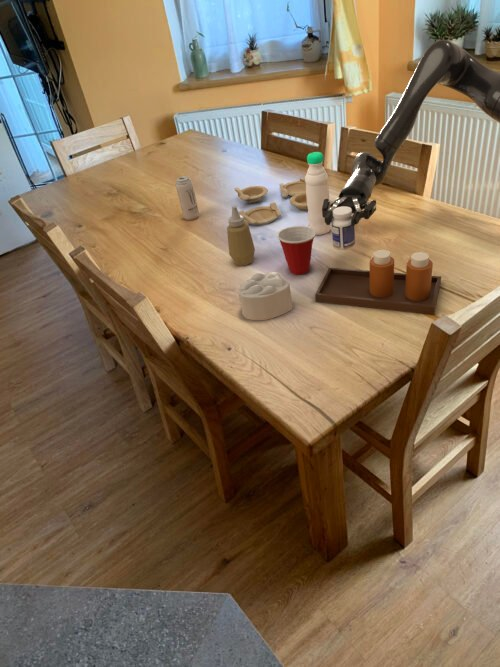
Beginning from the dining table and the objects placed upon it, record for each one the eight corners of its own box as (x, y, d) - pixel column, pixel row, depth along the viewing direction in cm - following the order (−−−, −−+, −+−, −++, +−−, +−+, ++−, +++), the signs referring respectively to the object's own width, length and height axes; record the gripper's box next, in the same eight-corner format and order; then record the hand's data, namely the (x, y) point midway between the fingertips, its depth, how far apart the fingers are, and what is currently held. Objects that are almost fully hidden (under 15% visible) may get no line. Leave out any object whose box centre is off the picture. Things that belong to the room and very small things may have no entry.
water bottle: (314, 224, 165) (308, 149, 150) (334, 226, 162) (330, 150, 147) (305, 234, 161) (298, 158, 146) (326, 236, 158) (321, 158, 142)
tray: (440, 283, 129) (441, 276, 127) (433, 314, 119) (434, 307, 118) (329, 274, 140) (329, 267, 139) (315, 301, 131) (315, 294, 129)
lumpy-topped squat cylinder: (296, 309, 129) (293, 281, 124) (250, 326, 127) (245, 298, 121) (279, 291, 137) (276, 264, 132) (236, 306, 135) (231, 279, 129)
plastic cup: (326, 266, 144) (323, 228, 137) (302, 283, 139) (298, 245, 131) (297, 256, 151) (294, 220, 143) (274, 272, 145) (268, 236, 138)
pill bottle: (355, 239, 130) (354, 204, 124) (354, 251, 126) (353, 214, 120) (333, 240, 132) (331, 205, 125) (331, 251, 127) (329, 215, 121)
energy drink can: (194, 221, 182) (184, 182, 172) (181, 220, 184) (170, 181, 175) (203, 214, 185) (194, 175, 176) (190, 213, 188) (180, 174, 179)
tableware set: (243, 231, 170) (241, 220, 167) (226, 200, 193) (224, 190, 190) (339, 206, 173) (339, 195, 171) (311, 179, 196) (311, 169, 194)
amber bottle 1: (395, 285, 130) (396, 248, 123) (391, 298, 126) (392, 260, 119) (372, 283, 132) (372, 246, 125) (367, 296, 128) (367, 259, 121)
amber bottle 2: (431, 288, 126) (434, 250, 120) (428, 302, 122) (431, 263, 115) (407, 286, 129) (409, 249, 122) (403, 299, 125) (405, 261, 118)
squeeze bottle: (248, 269, 149) (239, 214, 138) (226, 266, 153) (214, 211, 142) (261, 256, 154) (252, 201, 143) (239, 253, 158) (229, 199, 147)
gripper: (329, 179, 134) (310, 207, 123) (383, 179, 128) (369, 209, 117) (331, 205, 139) (313, 234, 127) (383, 206, 133) (369, 237, 121)
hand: (340, 222), depth 122 cm, fingers closed on pill bottle, 5 cm apart
